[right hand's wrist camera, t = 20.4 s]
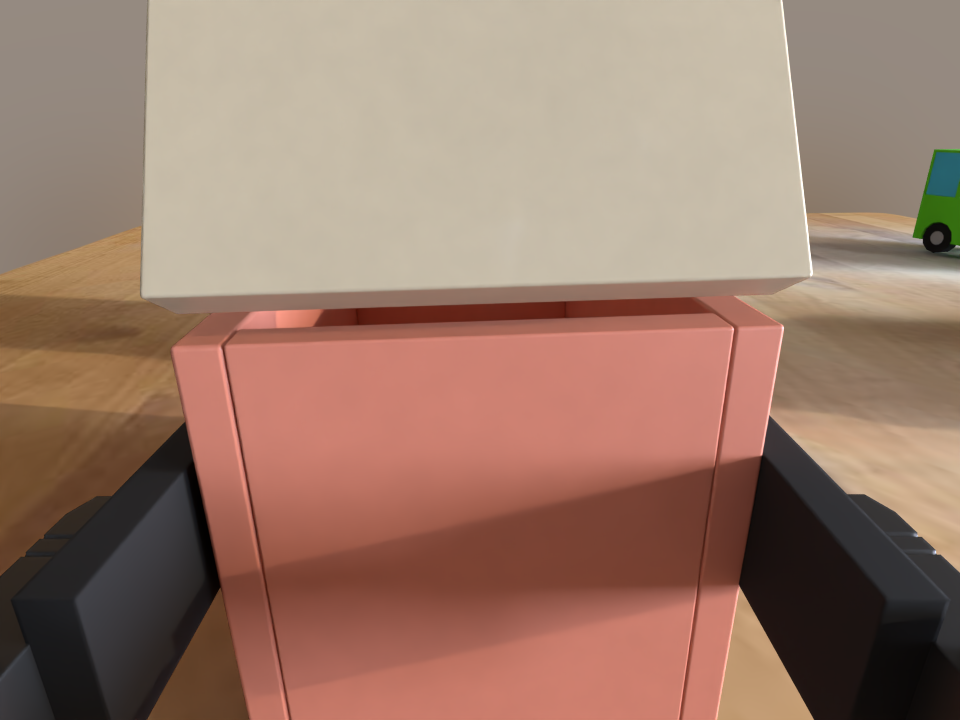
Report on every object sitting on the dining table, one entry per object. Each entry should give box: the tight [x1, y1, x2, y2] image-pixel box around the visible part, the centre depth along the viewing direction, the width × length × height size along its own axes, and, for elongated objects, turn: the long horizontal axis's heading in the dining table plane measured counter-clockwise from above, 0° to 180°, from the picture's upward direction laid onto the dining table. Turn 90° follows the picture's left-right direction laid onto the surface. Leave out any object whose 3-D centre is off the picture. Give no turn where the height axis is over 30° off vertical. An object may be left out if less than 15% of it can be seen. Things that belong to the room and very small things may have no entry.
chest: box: [170, 296, 784, 720], centre depth 17 cm, size 14×9×10 cm
